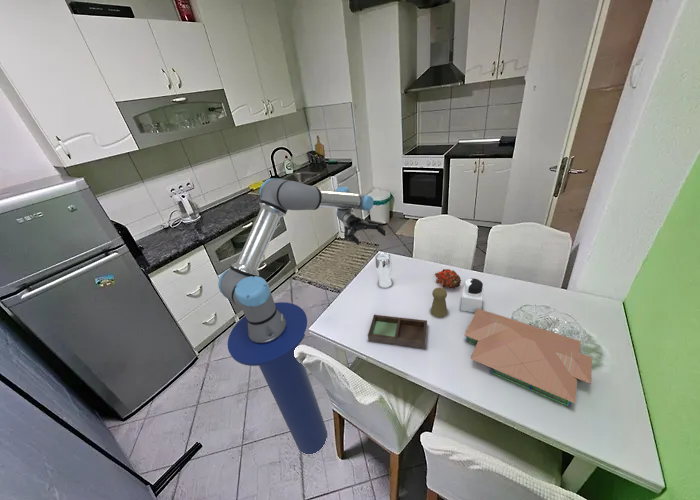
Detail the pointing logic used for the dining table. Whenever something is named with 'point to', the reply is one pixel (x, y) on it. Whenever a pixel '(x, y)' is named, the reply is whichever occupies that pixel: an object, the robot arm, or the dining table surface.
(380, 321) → the caddy
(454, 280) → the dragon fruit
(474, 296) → the medicine bottle
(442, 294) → the salt shaker
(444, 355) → the dining table surface
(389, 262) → the beer glass
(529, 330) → the house
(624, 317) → the dining table surface
